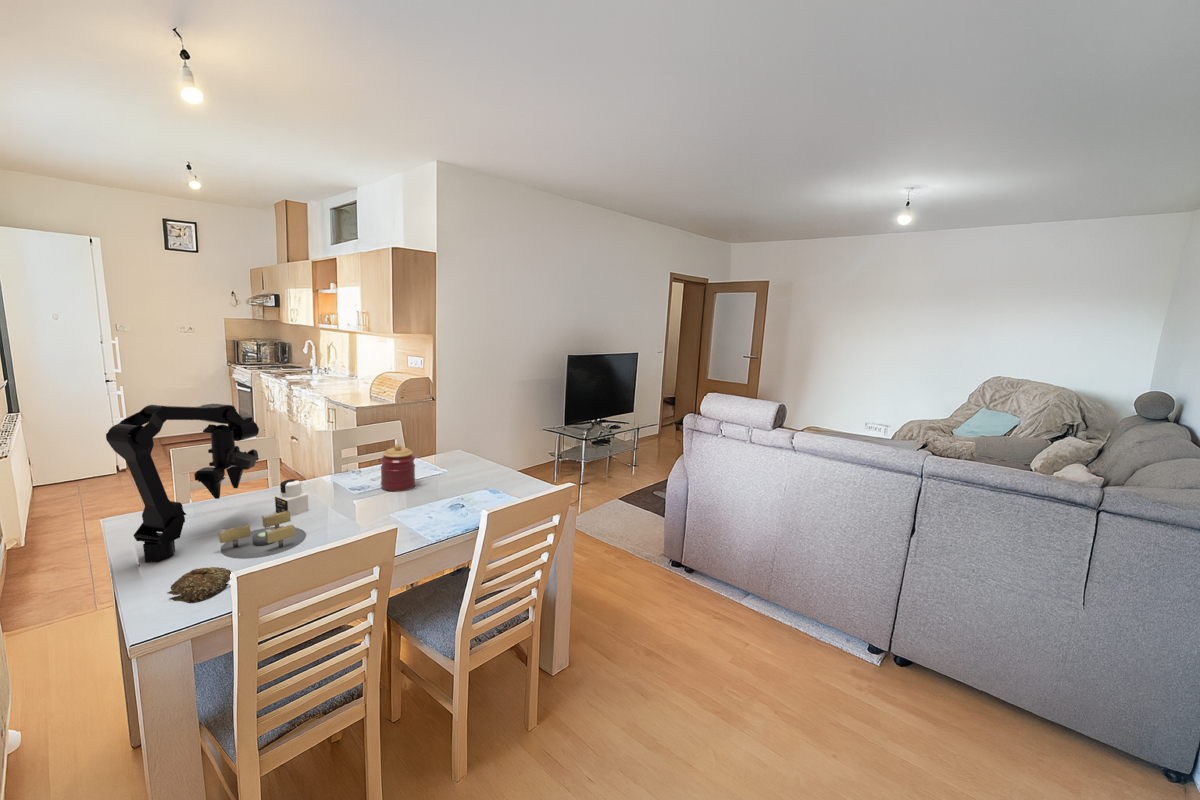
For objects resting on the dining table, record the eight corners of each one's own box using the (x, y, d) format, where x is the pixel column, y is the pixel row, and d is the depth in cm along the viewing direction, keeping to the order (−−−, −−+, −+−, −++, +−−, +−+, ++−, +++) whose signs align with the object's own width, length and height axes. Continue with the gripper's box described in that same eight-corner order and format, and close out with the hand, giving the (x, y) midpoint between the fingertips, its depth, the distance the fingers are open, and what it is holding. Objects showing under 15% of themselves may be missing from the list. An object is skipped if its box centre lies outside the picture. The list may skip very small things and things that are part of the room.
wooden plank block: (291, 528, 154) (290, 510, 153) (265, 535, 149) (264, 517, 148) (288, 526, 155) (287, 509, 154) (263, 533, 150) (262, 515, 149)
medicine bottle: (275, 515, 166) (273, 481, 164) (296, 508, 172) (295, 476, 170) (288, 520, 163) (286, 486, 161) (309, 513, 169) (307, 480, 167)
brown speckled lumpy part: (243, 578, 128) (242, 560, 127) (202, 605, 116) (201, 586, 115) (197, 574, 129) (195, 556, 128) (151, 600, 117) (149, 581, 116)
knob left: (251, 544, 143) (249, 525, 142) (221, 551, 138) (219, 532, 137) (249, 542, 144) (248, 523, 143) (219, 549, 139) (218, 530, 138)
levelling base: (285, 562, 137) (284, 550, 136) (203, 563, 134) (202, 550, 133) (318, 529, 157) (317, 519, 157) (247, 530, 154) (246, 519, 154)
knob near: (295, 543, 145) (294, 525, 144) (268, 551, 139) (267, 532, 138) (293, 541, 146) (292, 523, 145) (266, 549, 141) (264, 530, 140)
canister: (383, 481, 204) (382, 440, 201) (416, 480, 208) (415, 439, 205) (379, 492, 191) (378, 449, 189) (414, 490, 195) (414, 448, 192)
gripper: (233, 453, 142) (237, 504, 144) (268, 437, 160) (270, 483, 162) (191, 452, 140) (195, 504, 143) (230, 437, 158) (234, 483, 161)
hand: (226, 493), depth 152 cm, fingers open, 9 cm apart
